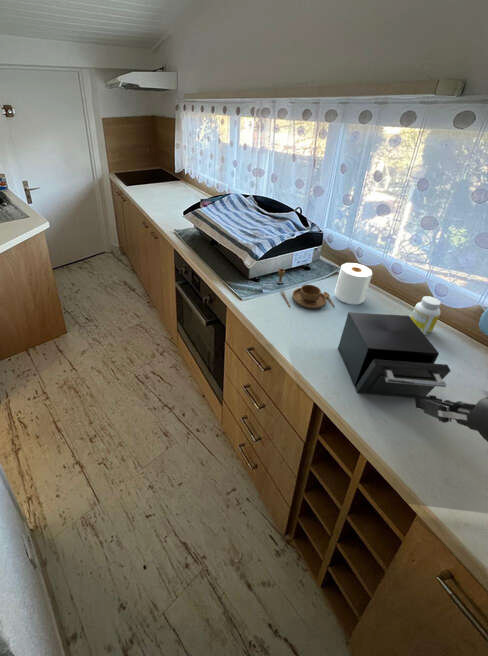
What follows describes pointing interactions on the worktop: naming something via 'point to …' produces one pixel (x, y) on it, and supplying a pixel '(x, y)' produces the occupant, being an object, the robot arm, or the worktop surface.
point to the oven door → (401, 378)
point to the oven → (382, 342)
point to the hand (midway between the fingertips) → (418, 401)
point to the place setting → (307, 295)
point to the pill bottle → (426, 314)
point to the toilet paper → (353, 283)
